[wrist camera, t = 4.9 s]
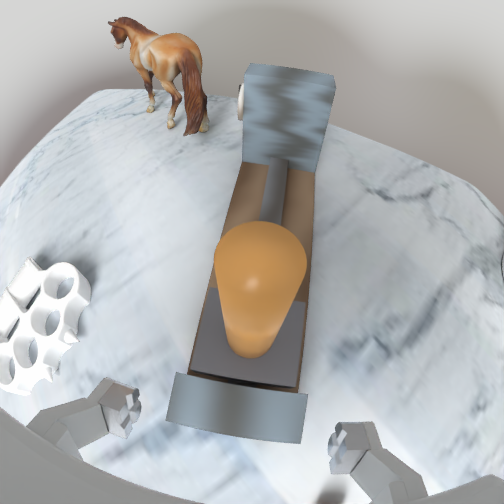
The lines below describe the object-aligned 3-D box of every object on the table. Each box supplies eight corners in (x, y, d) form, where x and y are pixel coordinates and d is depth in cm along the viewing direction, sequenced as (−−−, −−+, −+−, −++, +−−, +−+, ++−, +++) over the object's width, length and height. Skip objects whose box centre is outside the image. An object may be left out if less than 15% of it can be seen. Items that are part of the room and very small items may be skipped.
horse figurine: (123, 101, 51) (106, 20, 33) (153, 88, 53) (142, 9, 36) (193, 166, 39) (177, 29, 21) (235, 146, 42) (237, 18, 24)
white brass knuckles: (51, 246, 31) (116, 303, 28) (-14, 343, 23) (39, 421, 20) (39, 232, 29) (104, 291, 25) (-29, 335, 20) (22, 419, 17)
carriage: (299, 312, 25) (355, 207, 13) (290, 388, 21) (357, 360, 9) (212, 298, 25) (187, 181, 13) (195, 372, 22) (135, 323, 9)
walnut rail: (312, 160, 41) (333, 74, 28) (287, 436, 22) (341, 466, 9) (241, 149, 41) (243, 61, 28) (171, 415, 22) (99, 419, 10)
